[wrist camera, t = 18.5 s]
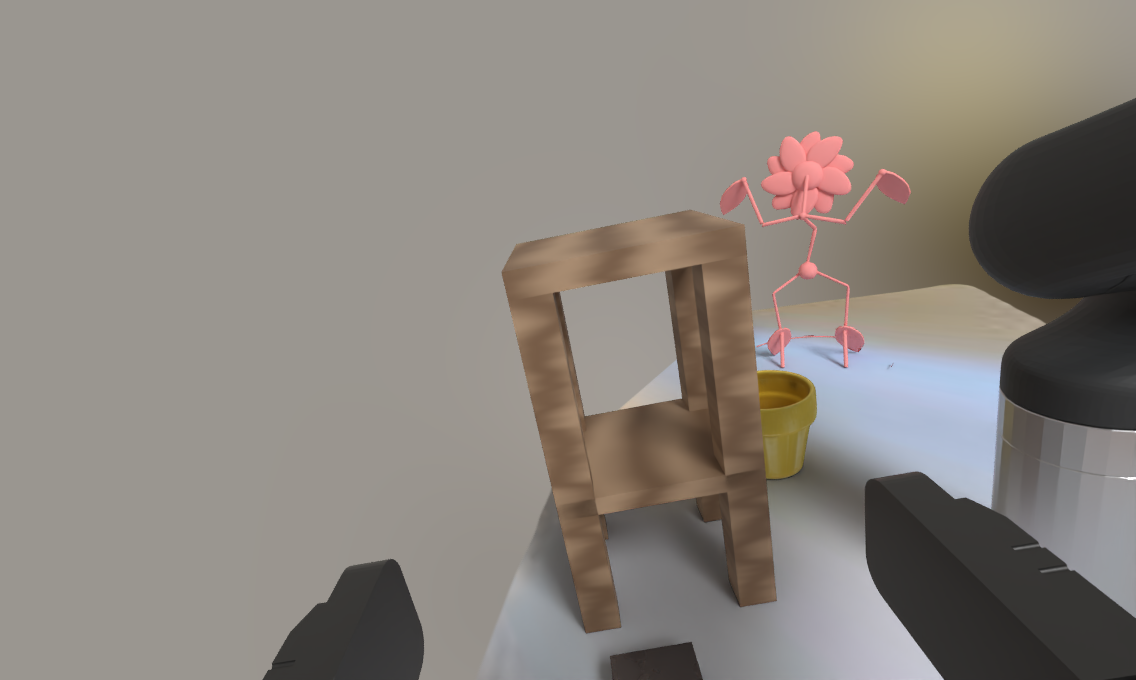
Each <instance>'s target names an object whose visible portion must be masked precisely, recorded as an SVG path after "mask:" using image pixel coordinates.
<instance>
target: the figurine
mask: <svg viewBox="0 0 1136 680" xmlns="http://www.w3.org/2000/svg"><path fill="white" fill-rule="evenodd" d="M842 143H843V141H842V138H841V137H837V136H833V137H827V138H825V139H823V140H821V139H820V133H818V132H816V131H815V132H812V133H810V134H808V135H807V136H806V137H805V138H804V139H803V140H802V141H801V143H798V141H796V140H795V139H794V138H792V137H791V136H789V137H785V138H784V140H783V141H782V143H781V147H780V157H778V156H771V157H770V158H769V159H768V162H767V164H768V168H769V171H770V172H771V174H772V175H771V176H769V177H767V178H765V179H764V180H763V181H762V184H761V186H762V188H763V189H764V190H765V191H767V192H768V193H771V194H774V195H776V196H775V197H774V198H773V201H772V205H773V208H774V209H777V210H779V209H787V208H790V207H791V214H792V215H793V216H792V217H788V218H783V219H779V220H775V221H771V222H766V223H764V222H763V220H762V218H761V215H760V213H759V211H758V208H757V206H756V204H755V202H754V199H753V197H752V194H751V192H750V190H749V187H748V183H747V182H746V181H747V179H746V178H745V177H743V178H741V180H738V181H736V182H734V183H733V184H732V185H731V186H730V187H729V188H727V189H726V191H725V192H724V194H723V195H722V198H721V201H720V207H721V211H722V213H723V215H724V214H726V213H728V212H729V211H731V210H732V209H734V208H735V207H737V206H738V205H739V204H740V203H741V202H742V201H743V199H744V198H745V196H746V194H748V196H749V199H750V201H751V203H752V206H753V208H754V210H755V213H756V215H757V217H758V220H759V222H760V224H762V223H763V225H762V227H764V226H768V225H773V224H777V223H781V222H785V221H789V220H793V219H797V220H798V219H801V220H804V221H805V222H806V223H807V224H808V225H809V226H810V227H811V228H812V229H813V233H812V237H811V242H810V247H809V253H808V257H807V262H805V263H803V264H802V265H801V266H800V268H799V273H798V274H797V275H796V276H794V277H793V278H792V279H790V280H789V281H788V282H786V283H785V284H784V285H782V286H781V287H780V288H778V289H777V290H776V291H774V292H773V294H772V296H773V301H774V305H775V311H776V316H777V321H778V326H779V330H777V331H775V332H774V334H773V335H772V336H771V337H770V338H769V340H768V348H769V350H770V351H771V353H772V354H773V355H776V354H777V353H778V352H781V367H784V347H785V346H787V344H788V343H789V341H790V339H793V338H791V333H790V330H789V329H788V328H784V329H782V328H781V323H780V318H779V313H778V308H777V303H776V298H775V293H776V292H778V291H779V290H780V289H782V288H783V287H784V286H786V285H787V284H789V283H790V282H791V281H792V280H794V279H795V278H796V277H798V276H799V275H800V276H801V277H802V278H803V279H812V278H814V277H815V276H816V274H819V275H821V276H824V277H826V278H829V279H830V280H833V281H835V282H837V283H840V284H842V285H844V286H846V287H847V295H846V309H845V322H844V326H843V327H842V326H840V327H838V328H837V329H836V331H835V336H814V335H809V336H807V337H835V338H836V340H837V341H838V342H839V343H840V344H841V345H842V346H843V350H844V367H848V351H847V348H848V349H850V350H853V351H855V352H859V351H860V350H861V347H863V345H864V337H863V336H862V334H861V333H860V332H859V331H857V330H856V329H854V328H853V327H849V326H847V319H848V305H849V289H850V287H848V286H849V285H848V284H845V283H843V282H841V281H839V280H836V279H834V278H832V277H829V276H827V275H825V274H823V273H821V272H818V271H817V267H816V265H815V264H814V263H811V262H809V260H810V256H811V252H812V248H813V244H814V240H815V236H816V233H817V230H816V228H817V227H816V226H815V225H814V224H813V223H811V222H810V221H809V220H808V219H807V218H810V219H816V220H822V221H828V222H835V223H841V224H846V221H848V220H849V219H850V218H851V217H852V215H853V214H854V213H855V211H856V210H857V209H858V207H859V206H860V205H861V203H862V202H863V201H864V199H865V198H866V197H867V195H868V194H869V193H870V192H871V190H872V189H873V187H874V186H875V185H877V186H878V188H879V190H880V191H882V192H883V193H884V194H885V195H886V196H888V197H890V198H892V199H894V200H896V201H898V202H900V203H903V204H905V203H906V202H907V200H908V198H909V195H910V193H911V192H910V188H909V185H908V184H907V182H906V181H905V180H904V179H902V178H901V177H900V176H898V175H897V174H895V173H893V172H889V171H886V170H885V169H881V170H879V174H877V176H876V178H875V180H874V181H873V182H872V184H871V185H870V187H869V188H868V189H867V191H866V192H865V193H864V195H863V196H862V197H861V199H860V200H859V201H858V202H857V204H856V205H855V206H854V208H853V209H852V211H851V212H850V213H849V215H848V216H847V217H846V219H845V220H840V219H833V218H827V217H820V216H814V215H807V214H808V213H809V212H810V211H811V210H812V209H813V208H814V207H815V209H816V210H817V212H820V213H828V212H829V211H830V210H831V207H832V204H833V199H834V194H835V195H844V194H847V193H848V192H850V191H851V184H850V181H849V179H848V177H847V176H846V175H845V173H846V172H848V171H850V170H851V169H852V168H853V165H854V163H853V161H852V160H851V159H849V158H848V157H846V156H843V155H838V152H839V151H840V148H841V146H842ZM795 338H803V337H795ZM765 344H767V343H765ZM762 345H764V344H762ZM759 346H761V345H759ZM757 347H758V346H757ZM857 349H858V350H857ZM892 365H893V364H892ZM891 367H892V366H891Z"/></svg>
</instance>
